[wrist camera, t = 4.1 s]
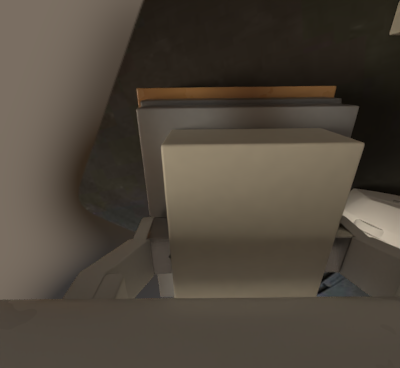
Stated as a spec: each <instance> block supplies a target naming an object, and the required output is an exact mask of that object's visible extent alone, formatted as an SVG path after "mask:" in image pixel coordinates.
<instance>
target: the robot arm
mask: <svg viewBox="0 0 400 368" xmlns="http://www.w3.org/2000/svg"><path fill="white" fill-rule="evenodd" d="M324 272H340V274H341V275H343V276H344V277H345V278H347V279H348V280H349V281H351V282H352V283H354V284H355V285H356V286H358V287H359V288H360V289H362V290H363V291H364V292H366V293H367V294H368V295H370V296H371V297H260V298H163V299H161V298H159V299H158V298H153V299H152V298H151V299H134V298H135V297H136V296H137V294H138V293H139V292H140V291H141V290H142V289H143V288H144V286H145V285H146V284H147V283H148V282H149V281H150V279H151V278H152V277H153V276H154V274H166V273H172V265H171V254H170V243H169V232H168V221H167V217H144V218H142V220H141V222H140V224H139V227H138V229H137V231H136V233H135V236H134V238H133V240H128V241H127V242H125V243H124V244H122V245H121V246H119V247H118V248H116V249H115V250H113V251H112V252H110V253H109V254H107V255H105V256H104V257H102V258H101V259H99V260H98V261H97V262H95V263H93V264H92V265H90V266H89V267H87V268H86V269H84V270H83V271H81V272H80V273H79V274H78V275H77V277H76V278H75V280H74V282H73V283H72V285H71V286H70V288H69V289H68V291H67V292H66V294H65V296H64V297H63V299H32V300H0V368H400V249H399V248H397V247H395V246H392V245H390V244H388V243H385V242H383V241H381V240H378V239H376V238H373V237H368V236H367V235H366V234H365V233H364V232H363V231H361V230H360V229H359V228H358V227H357V226H356V225H355V224H353V223H352V222H351V221H350V220H349V219H348V218H347V217H345V216H343V215H342V218H341V221H340V224H339V227H338V230H337V233H336V236H335V240H334V243H333V246H332V249H331V252H330V255H329V258H328V261H327V265H326V268H325V271H324Z"/></svg>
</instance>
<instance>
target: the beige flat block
mask: <svg viewBox="0 0 400 368" xmlns="http://www.w3.org/2000/svg"><path fill="white" fill-rule="evenodd" d="M364 146H365V144H364V143H363V142H361V141H358V140H355V139H352V138H349V137H346V136H343V135H340V134H337V133H334V132H331V131H328V130H325V129H322V128H276V129H189V130H171V132H170V133H169V135H168V136H167V138H166V139H165V141H164V142H163V144H162V145H161V154H162V165H163V176H164V188H165V199H166V210H167V221H168V232H169V243H170V254H171V265H172V276H173V287H174V298H260V297H316V296H317V293H318V289H319V286H320V283H321V280H322V277H323V274H324V271H325V268H326V265H327V261H328V258H329V255H330V252H331V249H332V246H333V243H334V240H335V236H336V233H337V230H338V227H339V224H340V221H341V218H342V215H343V211H344V208H345V205H346V202H347V199H348V196H349V193H350V190H351V186H352V183H353V180H354V177H355V174H356V171H357V168H358V165H359V162H360V158H361V155H362V152H363V149H364Z"/></svg>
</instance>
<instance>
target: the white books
mask: <svg viewBox="0 0 400 368" xmlns="http://www.w3.org/2000/svg"><path fill="white" fill-rule="evenodd" d="M389 35H400V0H399V3H398V7H397V10H396V13H395V17H394V20H393V23H392V27H391V30H390V33H389Z"/></svg>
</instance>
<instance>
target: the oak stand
mask: <svg viewBox="0 0 400 368" xmlns="http://www.w3.org/2000/svg"><path fill="white" fill-rule="evenodd" d="M335 91H336V86H266V87H184V88H137V97H138V105H139V108H137V109H136V113H137V121H138V129H139V136H140V144H141V152H142V159H143V167H144V175H145V182H146V190H147V197H148V205H149V213H150V217H167V210H166V199H165V188H164V176H163V165H162V154H161V145H162V144H163V142H164V141H165V139H166V138H167V136H168V135H169V133H170V132H171V130H189V129H276V128H322V129H325V130H328V131H331V132H334V133H337V134H340V135H343V136H346V137H349V138H351V134H352V131H353V127H354V124H355V120H356V117H357V113H358V110H359V106H356V105H348V104H341V101H342V99H341V98H334V95H335ZM158 282H159V289H160V296H161V297H174V287H173V276H172V273H166V274H158Z"/></svg>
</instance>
